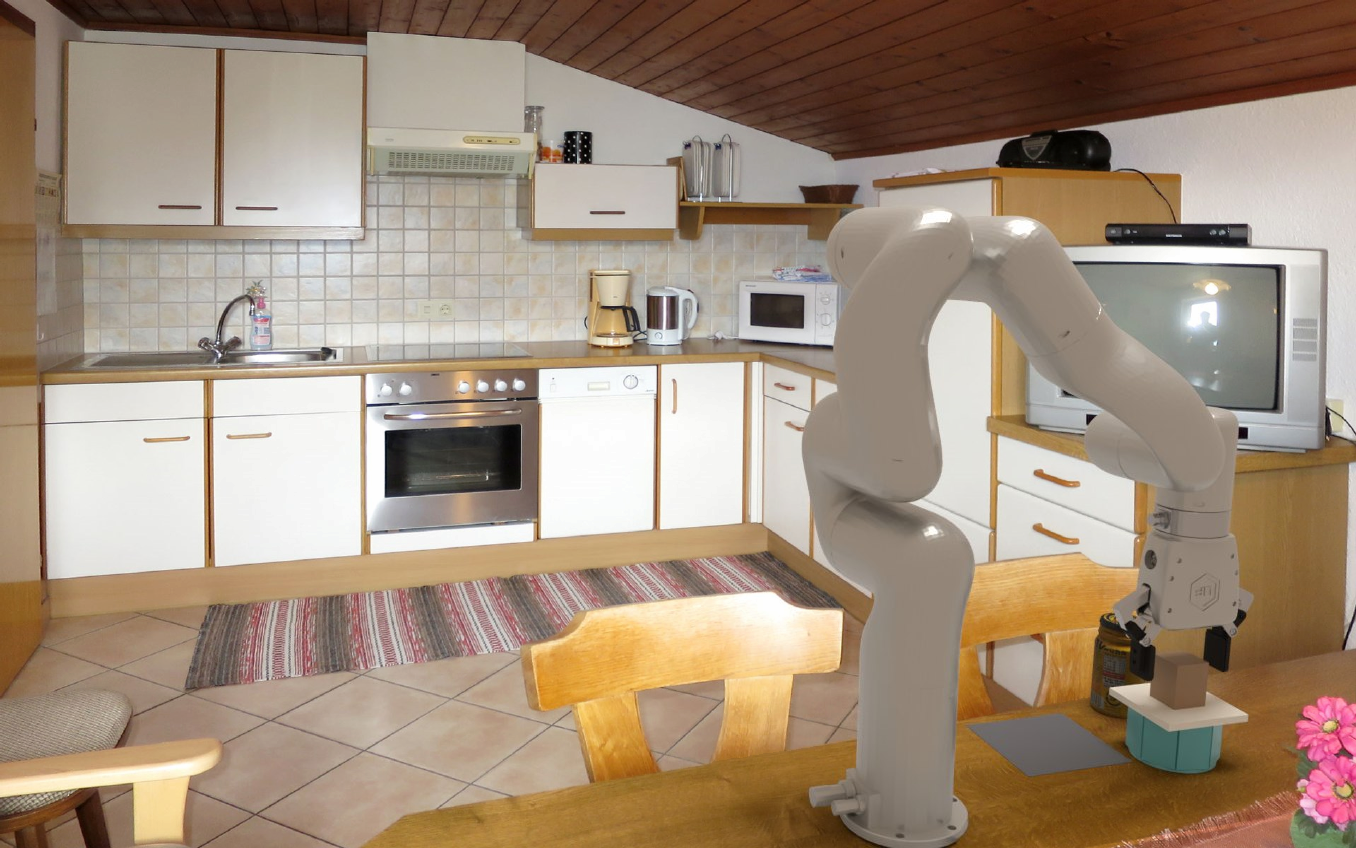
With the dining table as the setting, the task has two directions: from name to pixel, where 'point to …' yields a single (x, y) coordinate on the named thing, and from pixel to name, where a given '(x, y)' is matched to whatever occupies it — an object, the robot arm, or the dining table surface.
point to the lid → (1178, 695)
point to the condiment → (1111, 667)
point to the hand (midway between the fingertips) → (1178, 672)
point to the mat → (1047, 744)
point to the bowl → (1173, 745)
